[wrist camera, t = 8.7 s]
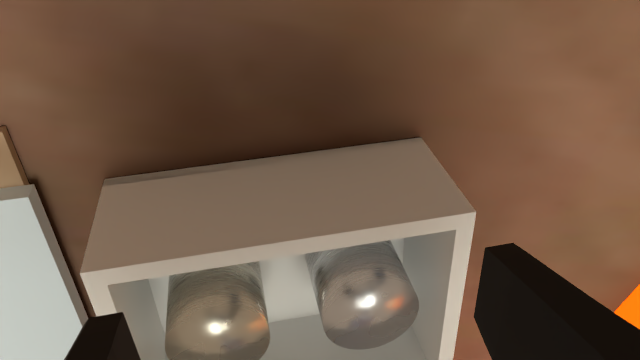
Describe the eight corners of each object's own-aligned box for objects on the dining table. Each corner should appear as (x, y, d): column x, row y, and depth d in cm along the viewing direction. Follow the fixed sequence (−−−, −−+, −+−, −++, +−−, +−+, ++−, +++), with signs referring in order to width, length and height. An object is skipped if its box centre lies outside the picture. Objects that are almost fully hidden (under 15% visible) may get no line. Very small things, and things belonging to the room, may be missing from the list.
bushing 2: (385, 269, 24) (416, 339, 20) (306, 283, 23) (324, 357, 20) (387, 204, 22) (422, 271, 18) (301, 218, 21) (320, 288, 18)
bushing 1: (262, 290, 23) (274, 366, 20) (178, 304, 22) (175, 385, 19) (254, 225, 21) (265, 297, 18) (161, 238, 20) (154, 316, 17)
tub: (420, 137, 21) (476, 211, 17) (408, 298, 26) (448, 386, 22) (104, 178, 19) (79, 273, 15) (156, 343, 24) (148, 448, 20)
